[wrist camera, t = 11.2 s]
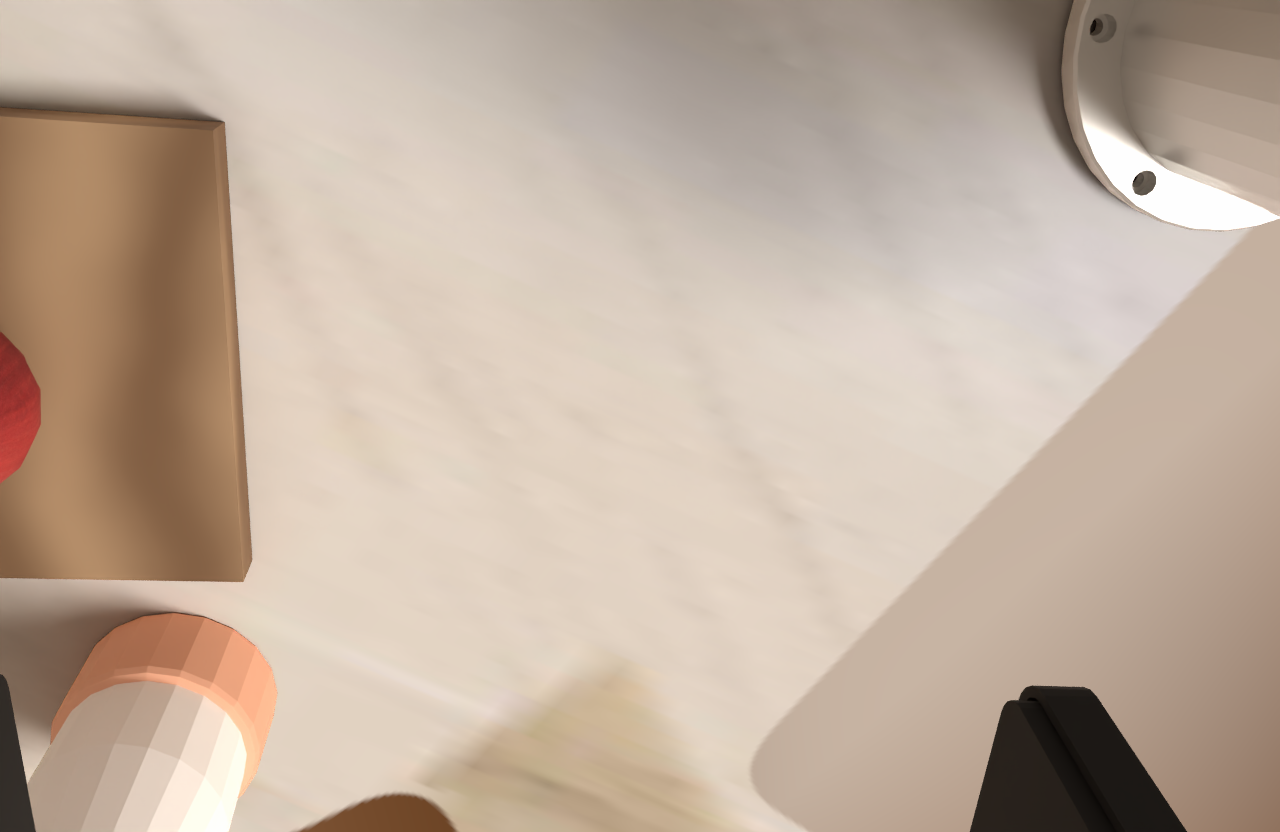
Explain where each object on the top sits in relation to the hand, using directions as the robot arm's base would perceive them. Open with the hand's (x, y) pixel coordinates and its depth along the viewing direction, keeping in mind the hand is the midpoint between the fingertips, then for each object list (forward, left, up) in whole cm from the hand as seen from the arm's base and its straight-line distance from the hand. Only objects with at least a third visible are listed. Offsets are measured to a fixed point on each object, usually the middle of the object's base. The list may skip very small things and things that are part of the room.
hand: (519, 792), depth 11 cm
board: (+18, +7, -29) cm, 35 cm away
